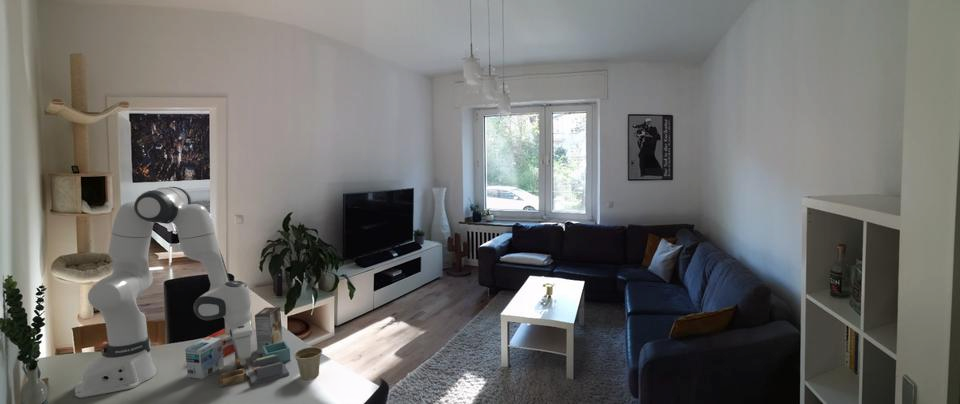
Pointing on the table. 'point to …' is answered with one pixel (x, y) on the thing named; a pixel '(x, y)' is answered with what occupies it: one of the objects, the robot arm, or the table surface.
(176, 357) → the table surface
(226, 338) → the medicine box
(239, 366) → the cell
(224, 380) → the trough
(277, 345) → the cup
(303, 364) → the flower pot
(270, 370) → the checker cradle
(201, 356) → the light bulb box
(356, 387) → the table surface
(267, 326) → the coffee box
